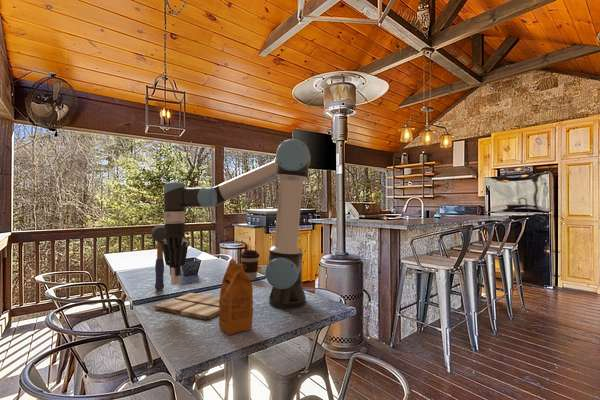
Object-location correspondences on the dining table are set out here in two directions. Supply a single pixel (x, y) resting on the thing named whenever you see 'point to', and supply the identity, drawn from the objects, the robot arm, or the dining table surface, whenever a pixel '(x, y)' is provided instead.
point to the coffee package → (235, 300)
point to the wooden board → (200, 299)
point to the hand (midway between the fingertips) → (175, 283)
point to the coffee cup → (250, 263)
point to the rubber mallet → (159, 255)
